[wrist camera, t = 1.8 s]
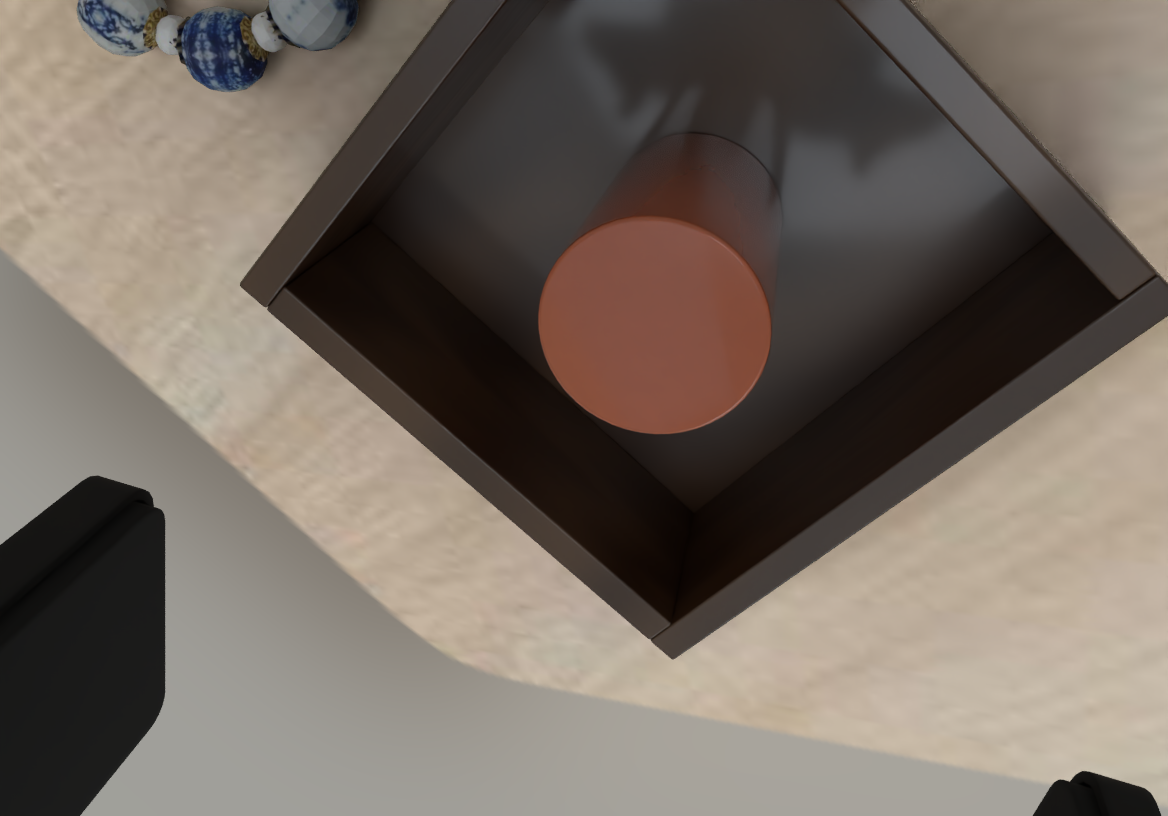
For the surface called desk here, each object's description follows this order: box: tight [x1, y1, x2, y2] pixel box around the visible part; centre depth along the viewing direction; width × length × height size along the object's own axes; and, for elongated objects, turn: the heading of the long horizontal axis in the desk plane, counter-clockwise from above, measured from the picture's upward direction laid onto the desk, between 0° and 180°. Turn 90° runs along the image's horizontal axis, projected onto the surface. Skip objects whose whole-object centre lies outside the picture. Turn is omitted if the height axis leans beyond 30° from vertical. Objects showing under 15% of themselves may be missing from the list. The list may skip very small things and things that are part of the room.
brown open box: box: [240, 0, 1168, 659], centre depth 23 cm, size 14×14×6 cm
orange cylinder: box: [538, 133, 783, 434], centre depth 22 cm, size 4×4×7 cm
